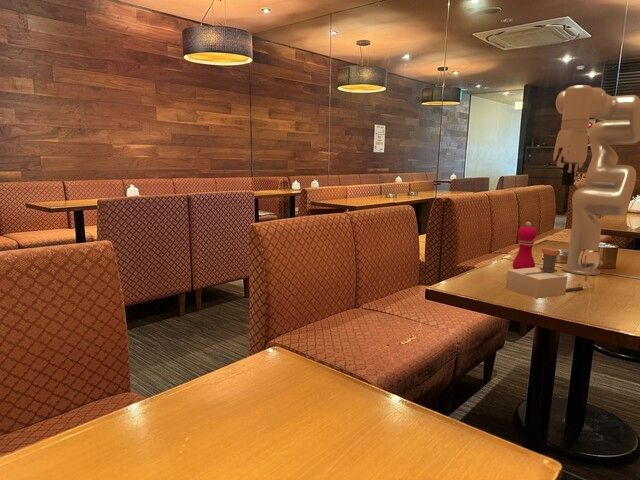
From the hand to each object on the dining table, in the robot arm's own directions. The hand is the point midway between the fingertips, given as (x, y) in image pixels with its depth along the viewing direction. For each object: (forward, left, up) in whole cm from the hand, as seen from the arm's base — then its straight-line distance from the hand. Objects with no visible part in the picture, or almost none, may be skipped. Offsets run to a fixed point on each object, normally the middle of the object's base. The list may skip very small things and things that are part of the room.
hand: (567, 185), depth 144 cm
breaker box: (+9, +4, -33) cm, 35 cm away
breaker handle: (+9, +4, -27) cm, 29 cm away
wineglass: (-8, +5, -33) cm, 35 cm away
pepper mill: (+4, -10, -33) cm, 35 cm away
